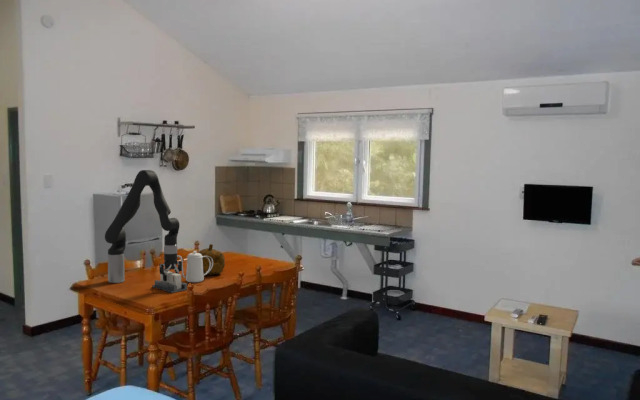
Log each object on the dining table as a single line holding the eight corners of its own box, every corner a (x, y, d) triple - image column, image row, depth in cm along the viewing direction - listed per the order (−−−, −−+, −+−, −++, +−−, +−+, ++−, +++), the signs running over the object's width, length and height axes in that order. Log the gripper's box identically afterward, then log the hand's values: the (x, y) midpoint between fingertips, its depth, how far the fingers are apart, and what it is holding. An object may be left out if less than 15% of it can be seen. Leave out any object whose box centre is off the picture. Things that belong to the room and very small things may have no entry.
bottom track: (152, 286, 308) (152, 281, 307) (170, 283, 317) (170, 277, 316) (171, 293, 295) (171, 287, 294) (189, 289, 304) (189, 283, 303)
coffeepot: (171, 281, 321) (171, 251, 319) (209, 276, 336) (209, 247, 334) (177, 285, 312) (177, 254, 311) (216, 280, 327) (216, 250, 325)
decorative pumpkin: (186, 273, 339) (188, 243, 339) (207, 270, 358) (209, 241, 357) (210, 278, 330) (213, 247, 329) (230, 275, 348) (233, 245, 348)
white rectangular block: (160, 284, 309) (160, 271, 309) (165, 283, 312) (165, 270, 312) (176, 289, 299) (175, 275, 298) (181, 288, 302) (181, 274, 301)
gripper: (177, 249, 312) (177, 276, 313) (156, 253, 301) (156, 281, 302) (184, 251, 307) (185, 279, 308) (163, 254, 296) (163, 283, 297)
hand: (170, 279), depth 305 cm, fingers open, 7 cm apart
